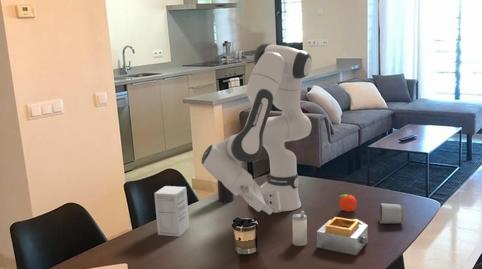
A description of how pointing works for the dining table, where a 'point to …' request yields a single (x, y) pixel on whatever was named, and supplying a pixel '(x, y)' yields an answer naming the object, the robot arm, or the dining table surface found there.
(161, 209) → the supplement box
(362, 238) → the block
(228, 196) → the bottle
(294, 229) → the spout can
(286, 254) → the dining table surface
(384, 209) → the ceramic mug
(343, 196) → the clementine
